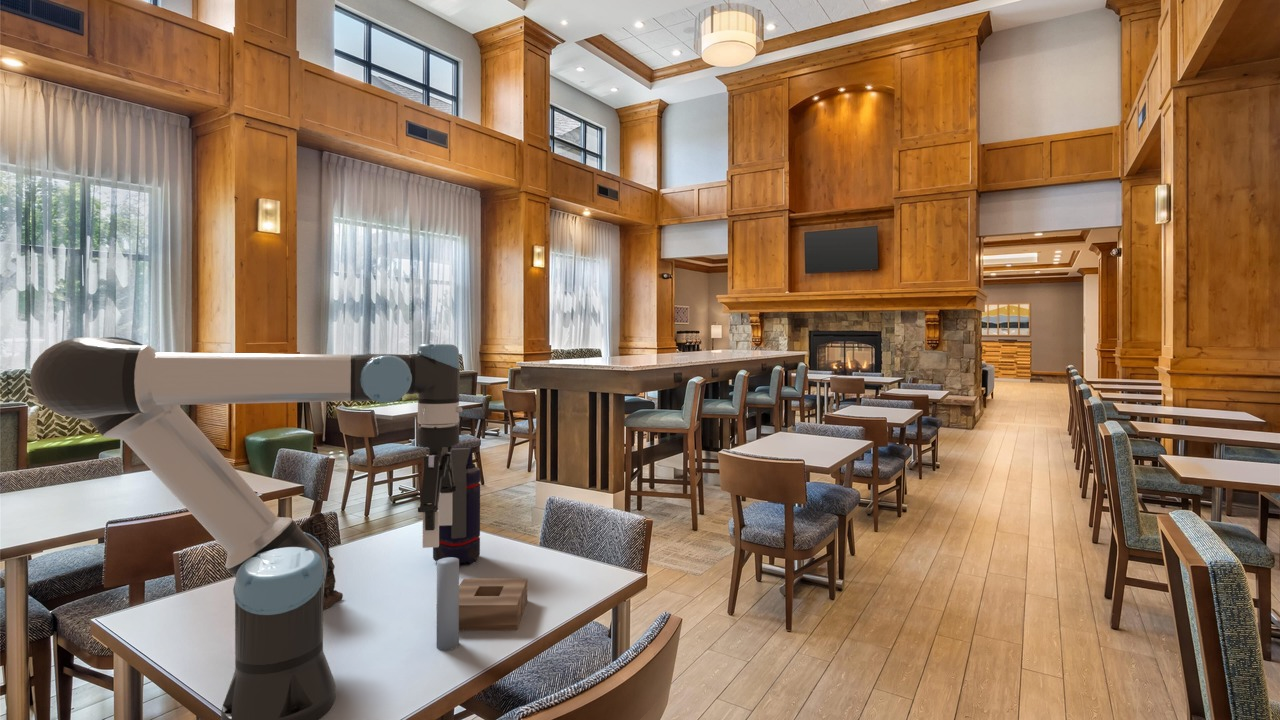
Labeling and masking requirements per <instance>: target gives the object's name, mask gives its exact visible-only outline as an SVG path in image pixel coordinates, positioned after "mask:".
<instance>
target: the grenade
mask: <svg viewBox="0 0 1280 720" xmlns="http://www.w3.org/2000/svg"><path fill="white" fill-rule="evenodd" d="M473 450H474V449H473V447H472V446H452V449H451V452H452V465H453V476H454V483H455V484H454V486H456V491H454V492H452V525H445V526H439V547H432V559H433V560H434V562H436V563H437V561H438V560H440V559H442V558H448V557H454V558H458V559H459V564H461V563H468V565H471V564H472V563H473V564H474V562H475V563H476V559H477V558H478V557H480V555H481V537H480V536H481V483H480V482H481V468H480V467H478V466H476V464H475V463H474V461H473V455H474V453H473V452H474V451H473ZM440 493H442V492H440ZM450 493H451V492H450Z"/></svg>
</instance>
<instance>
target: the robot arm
mask: <svg viewBox="0 0 1280 720" xmlns="http://www.w3.org/2000/svg"><path fill="white" fill-rule="evenodd" d="M34 361H35V362H33V365H32V367H31V370H30V375H29V383H30V386H31V388H30V389H31V390H32V392H33V394H34V396H35V398H36V399H37V400H38V401H39V402H40V403H41V405H42V406H44V408H47V409H48V410H50V411H51V412H53V413H55V414H58V415H61V416H65V417H69V418H73V419H85V420H86V421H88V422H89V423H90V424H91V425H92V426H93V427H94V428H95V429H96V430H97V431H98V433H99V434H100V435H101V436H102V437H103V438H105V439H106V438H107V439H115V440H116V439H117V440H121V441H124V443H125V444H126V445H127V446H128V447H129V448H130V450H132V451H133V452H134V454H135V455H136V456H137V457H139V459H140V460H141V461H142V462H143V463H144V464H145V466H147V467H148V469H150V471H151V472H152V473H153V474H154V475H155V477H157V479H159V481H161V483H162V484H164V486H165V487H166V488H167V489H168V490H169V491H170V492H171V493H172V495H174V496H175V498H176V499H177V500H178V501H179V502H180V503H181V504H182V506H184V508H186V510H187V511H188V512H189V513H190V514H191V515H192V516H193V517H194V518H195V519H196V521H198V522H199V524H200V525H201V526H203V528H204V529H205V530H206V531H207V532H208V533H209V534H210V535H211V537H213V539H214V540H215V541H216V542H217V543H218V544H219V546H220V547H222V548H223V550H224V551H225V552H226V554H227V555H226V561H225V569H227V570H228V571H229V573H231V574H232V576H234V578H235V580H234V584H233V589H232V591H233V598H234V638H235V639H234V649H235V650H234V657H235V660H234V661H235V662H234V663H235V664H234V665H235V666H234V667H235V668H234V673H233V676H232V678H231V681H230V683H229V686H228V690H227V692H226V695H225V698H224V701H223V704H222V706H221V711H220V715H221V716H220V720H319V719H321V717H323V716H324V715H325V714H327V712H328V711H330V709H331V708H332V707H333V705H334V704H335V700H336V681H335V678H334V675H333V673H332V671H331V668H330V666H329V663H328V660H327V657H326V655H325V652H324V610H323V594H324V585H325V579H326V574H327V567H328V562H327V555H326V554H325V553H326V552H325V550H324V548H323V546H322V545H321V543H320V542H319V541H318V540H317V539H316V538H315V537H313V536H312V535H310V534H308V533H305V532H303V531H302V530H301V529H300V528H299V526H300V525H298V524H297V523H296V521H294V520H293V518H291V517H289V516H288V517H287V516H286V517H282V516H281V517H280V516H277V515H275V514H274V512H273V511H272V510H271V509H270V508H269V506H268V505H267V504H266V503H265V502H264V501H263V500H262V499H261V498H260V496H259V495H258V493H256V491H254V489H253V488H252V487H251V486H250V485H249V484H248V483H247V482H246V480H245V479H244V478H243V477H242V475H240V474H239V472H238V471H237V470H236V468H234V467H233V466H232V464H230V462H229V461H228V460H227V459H226V457H224V455H223V454H222V452H220V450H219V449H217V447H216V445H214V444H213V443H212V442H211V441H210V439H209V438H208V437H207V436H206V435H205V434H204V432H203V431H201V429H200V428H199V427H198V426H197V424H196V423H195V422H194V421H193V420H192V419H191V418H190V417H189V415H188V414H187V413H186V412H185V411H184V410H183V409H182V407H181V405H182V406H183V405H185V406H186V405H188V406H189V405H229V404H230V405H235V404H272V403H273V404H276V403H277V404H279V403H317V402H318V403H319V402H320V403H321V402H322V403H323V402H327V403H328V402H378V403H382V404H385V403H386V404H387V403H388V404H389V403H394V402H397V401H399V400H401V398H403V397H404V396H405V395H417V396H418V397H417V423H418V424H420V426H418V427H417V445H418V446H419V447H422V448H428V449H429V451H428V455H424V457H423V475H422V485H421V495H420V505H419V507H417V513H422V549H423V548H425V549H428V548H431V549H432V548H433V547H439V526H445V525H452V492H454V491H456V486H454V484H455V483H454V476H453V465H452V452H451V449H452V447H456V446H457V445H459V443H460V426H459V425H458V423H459V422H460V413H462V412H463V408H462V407H461V406H460V378H461V377H460V375H461V371H460V370H461V366H460V352H459V347H457V345H456V344H455V345H454V344H451V343H449V344H446V343H445V344H444V343H442V344H441V343H440V344H439V343H437V344H436V343H434V344H433V343H432V344H431V343H430V344H429V343H422V344H419V345H418V348H417V352H416V353H413V354H411V353H410V354H395V353H394V354H391V353H359V354H330V353H329V354H324V353H323V354H322V353H321V354H319V353H318V354H317V353H315V354H314V353H313V354H312V353H311V354H309V353H308V354H307V353H301V354H300V353H241V352H240V353H237V352H236V353H234V352H232V353H230V352H226V353H225V352H224V353H222V352H216V353H215V352H213V353H212V352H211V353H210V352H158V351H157V350H155V349H154V348H153V347H152V346H150V345H149V344H148V345H147V344H146V345H145V344H143V343H140V342H138V341H136V340H133V339H130V338H125V337H118V336H109V337H108V336H107V337H89V336H88V337H85V336H84V337H75V338H74V337H73V338H71V339H65V340H62V341H59V342H57V343H55V344H52V345H51V346H49V347H48V348H46V349H45V350H44V351H43V352H42V353H41V354H40V355H38V357H37V359H35V360H34ZM440 492H442V493H440ZM450 492H451V493H450Z"/></svg>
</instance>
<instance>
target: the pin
mask: <svg viewBox="0 0 1280 720" xmlns="http://www.w3.org/2000/svg"><path fill="white" fill-rule="evenodd" d="M459 585H460V563H459V559H458V558H454V557H448V558H442V559H440V560H438V561H437V562H436V649H437V650H439V651H450V650H454V649H455V648H457V647H458V646H459V642H460V630H459Z"/></svg>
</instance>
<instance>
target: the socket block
mask: <svg viewBox="0 0 1280 720" xmlns="http://www.w3.org/2000/svg"><path fill="white" fill-rule="evenodd" d="M527 602H528V577H523V578H522V577H519V578H518V577H517V578H516V577H513V578H509V577H508V578H507V577H505V578H504V577H501V578H499V577H498V578H482V577H481V578H463V579H462V581H461V582H460V583H459V631H517V630H518V628H519V625H520V622H521V621H522V620H521V619H522V616H523V614H524V611H525V608H526V605H527Z"/></svg>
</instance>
